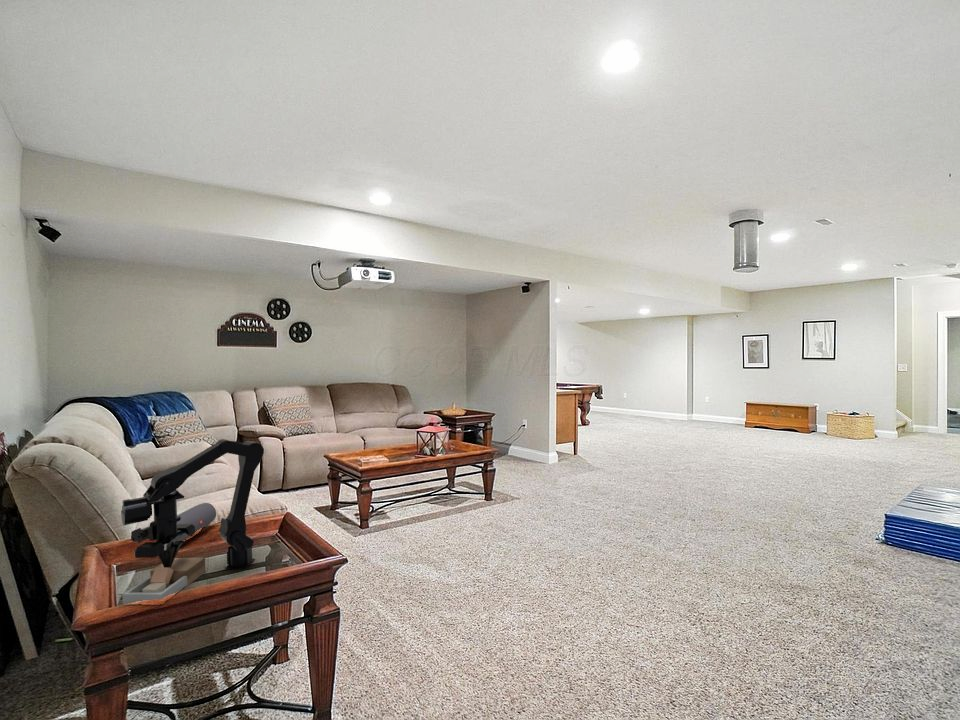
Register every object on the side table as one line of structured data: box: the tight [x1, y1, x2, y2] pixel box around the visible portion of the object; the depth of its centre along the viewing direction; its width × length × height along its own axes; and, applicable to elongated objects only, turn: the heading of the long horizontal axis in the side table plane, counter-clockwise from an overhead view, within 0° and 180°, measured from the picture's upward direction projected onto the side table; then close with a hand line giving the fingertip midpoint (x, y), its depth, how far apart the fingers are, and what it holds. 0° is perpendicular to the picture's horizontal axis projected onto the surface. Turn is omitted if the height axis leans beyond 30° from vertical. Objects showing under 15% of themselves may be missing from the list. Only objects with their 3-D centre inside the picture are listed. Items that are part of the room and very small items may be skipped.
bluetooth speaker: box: [177, 502, 217, 541], centre depth 185 cm, size 23×9×10 cm, turn 179°
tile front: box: [142, 583, 166, 593], centre depth 140 cm, size 4×4×2 cm
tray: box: [121, 575, 188, 605], centre depth 141 cm, size 11×11×3 cm
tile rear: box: [150, 567, 174, 585], centre depth 144 cm, size 4×4×2 cm
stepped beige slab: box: [149, 557, 206, 587], centre depth 151 cm, size 11×9×4 cm
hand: (167, 568), depth 146 cm, fingers closed
